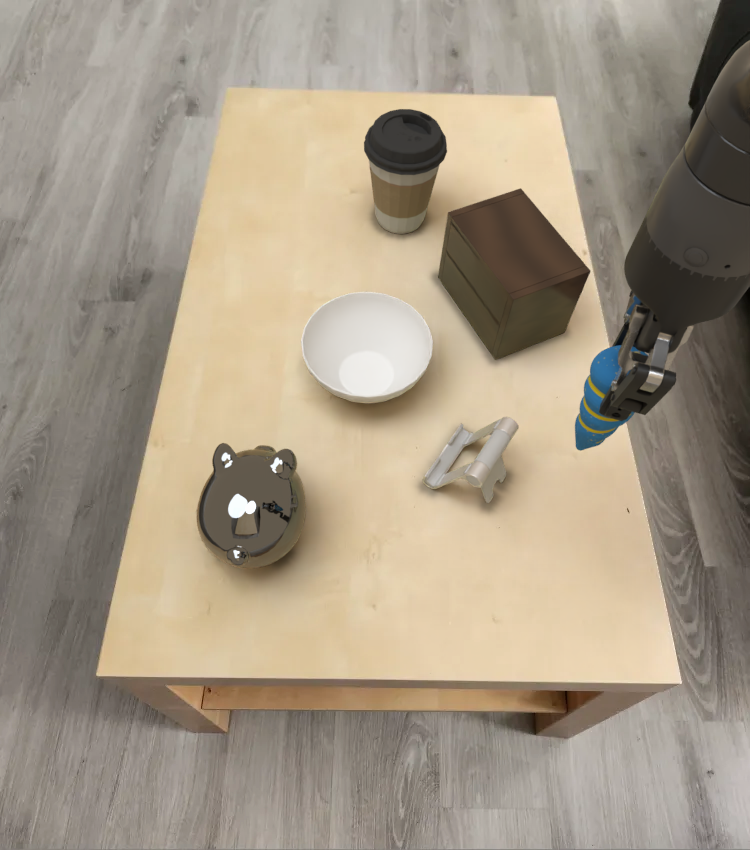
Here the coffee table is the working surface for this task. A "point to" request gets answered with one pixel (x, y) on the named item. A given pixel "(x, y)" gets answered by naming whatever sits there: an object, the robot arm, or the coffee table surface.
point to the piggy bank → (251, 506)
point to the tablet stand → (484, 466)
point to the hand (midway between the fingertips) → (617, 384)
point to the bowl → (366, 346)
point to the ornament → (598, 400)
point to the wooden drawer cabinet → (510, 272)
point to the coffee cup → (403, 166)
